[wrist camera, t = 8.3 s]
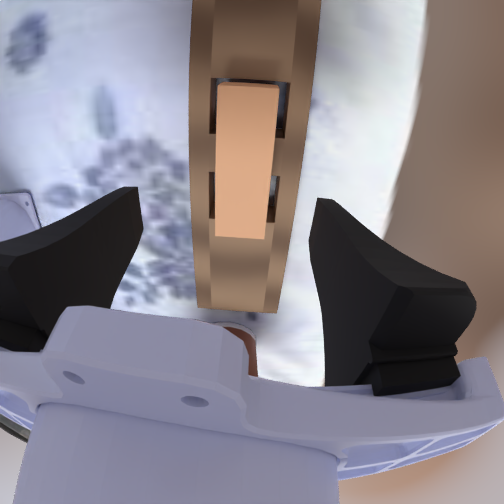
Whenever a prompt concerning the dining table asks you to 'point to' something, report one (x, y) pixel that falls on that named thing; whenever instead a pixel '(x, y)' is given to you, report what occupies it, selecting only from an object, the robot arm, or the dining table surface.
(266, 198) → the clip
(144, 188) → the dining table surface
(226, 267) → the rail
